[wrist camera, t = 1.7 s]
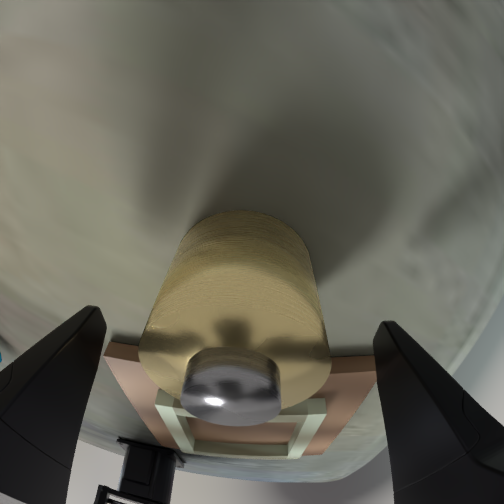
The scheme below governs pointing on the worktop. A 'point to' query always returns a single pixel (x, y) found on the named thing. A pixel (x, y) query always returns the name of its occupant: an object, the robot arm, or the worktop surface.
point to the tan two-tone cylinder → (238, 322)
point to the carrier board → (256, 436)
